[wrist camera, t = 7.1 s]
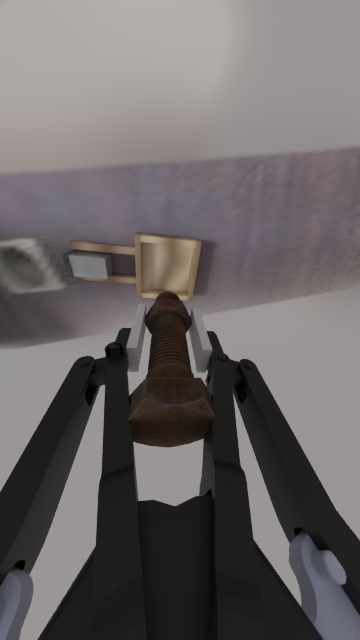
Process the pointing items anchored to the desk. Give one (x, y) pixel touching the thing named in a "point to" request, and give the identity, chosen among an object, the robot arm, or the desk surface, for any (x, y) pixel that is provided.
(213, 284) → the desk surface
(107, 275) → the grey rectangular block
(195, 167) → the desk surface
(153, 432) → the bolt
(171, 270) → the socket
